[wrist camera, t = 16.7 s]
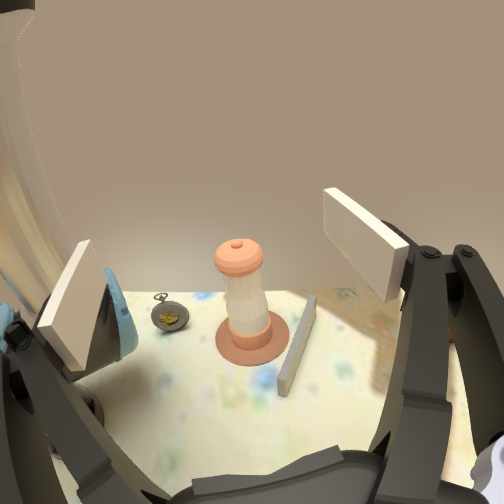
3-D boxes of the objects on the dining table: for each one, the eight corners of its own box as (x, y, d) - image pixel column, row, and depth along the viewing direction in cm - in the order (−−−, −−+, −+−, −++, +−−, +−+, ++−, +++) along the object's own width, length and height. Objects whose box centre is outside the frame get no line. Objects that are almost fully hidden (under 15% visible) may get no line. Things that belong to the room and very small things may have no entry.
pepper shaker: (281, 334, 48) (274, 238, 38) (249, 357, 45) (230, 262, 34) (254, 314, 53) (240, 222, 43) (223, 334, 50) (199, 242, 39)
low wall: (278, 395, 39) (277, 378, 36) (309, 314, 52) (310, 294, 50) (286, 397, 38) (285, 380, 36) (315, 315, 52) (316, 295, 49)
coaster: (203, 354, 47) (202, 352, 47) (234, 305, 57) (234, 303, 57) (274, 374, 42) (274, 372, 42) (297, 318, 52) (297, 315, 52)
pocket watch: (176, 303, 59) (162, 265, 54) (202, 320, 54) (189, 280, 49) (146, 326, 54) (128, 288, 49) (171, 346, 49) (153, 306, 44)
